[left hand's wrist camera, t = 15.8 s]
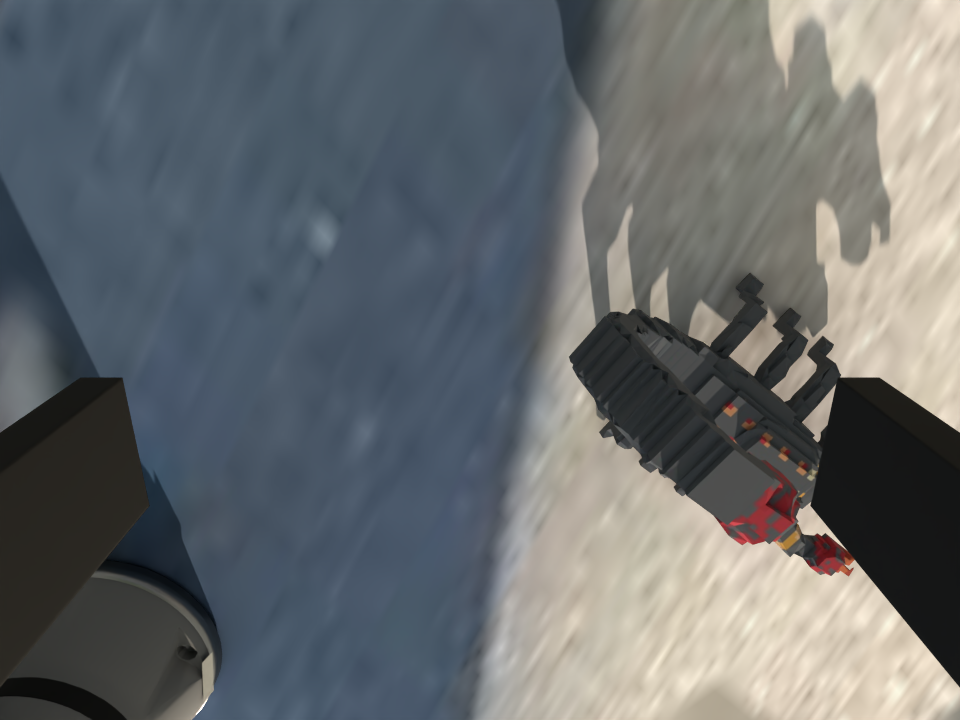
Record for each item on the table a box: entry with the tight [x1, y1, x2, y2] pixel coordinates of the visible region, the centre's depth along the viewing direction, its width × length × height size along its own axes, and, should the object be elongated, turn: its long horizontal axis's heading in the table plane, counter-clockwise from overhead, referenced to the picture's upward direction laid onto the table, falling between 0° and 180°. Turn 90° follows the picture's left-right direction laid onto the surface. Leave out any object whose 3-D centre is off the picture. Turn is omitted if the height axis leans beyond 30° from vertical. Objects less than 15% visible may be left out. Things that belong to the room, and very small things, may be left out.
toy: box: [569, 273, 855, 576], centre depth 33 cm, size 13×27×18 cm, turn 52°
